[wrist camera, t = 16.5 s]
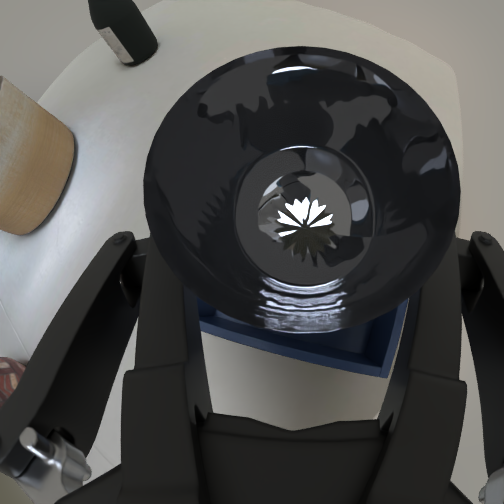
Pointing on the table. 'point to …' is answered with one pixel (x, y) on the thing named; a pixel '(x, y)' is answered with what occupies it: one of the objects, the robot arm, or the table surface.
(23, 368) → the pottery
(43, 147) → the planter
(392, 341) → the bin
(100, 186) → the table surface
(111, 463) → the table surface
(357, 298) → the wine glass
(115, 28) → the wine bottle
